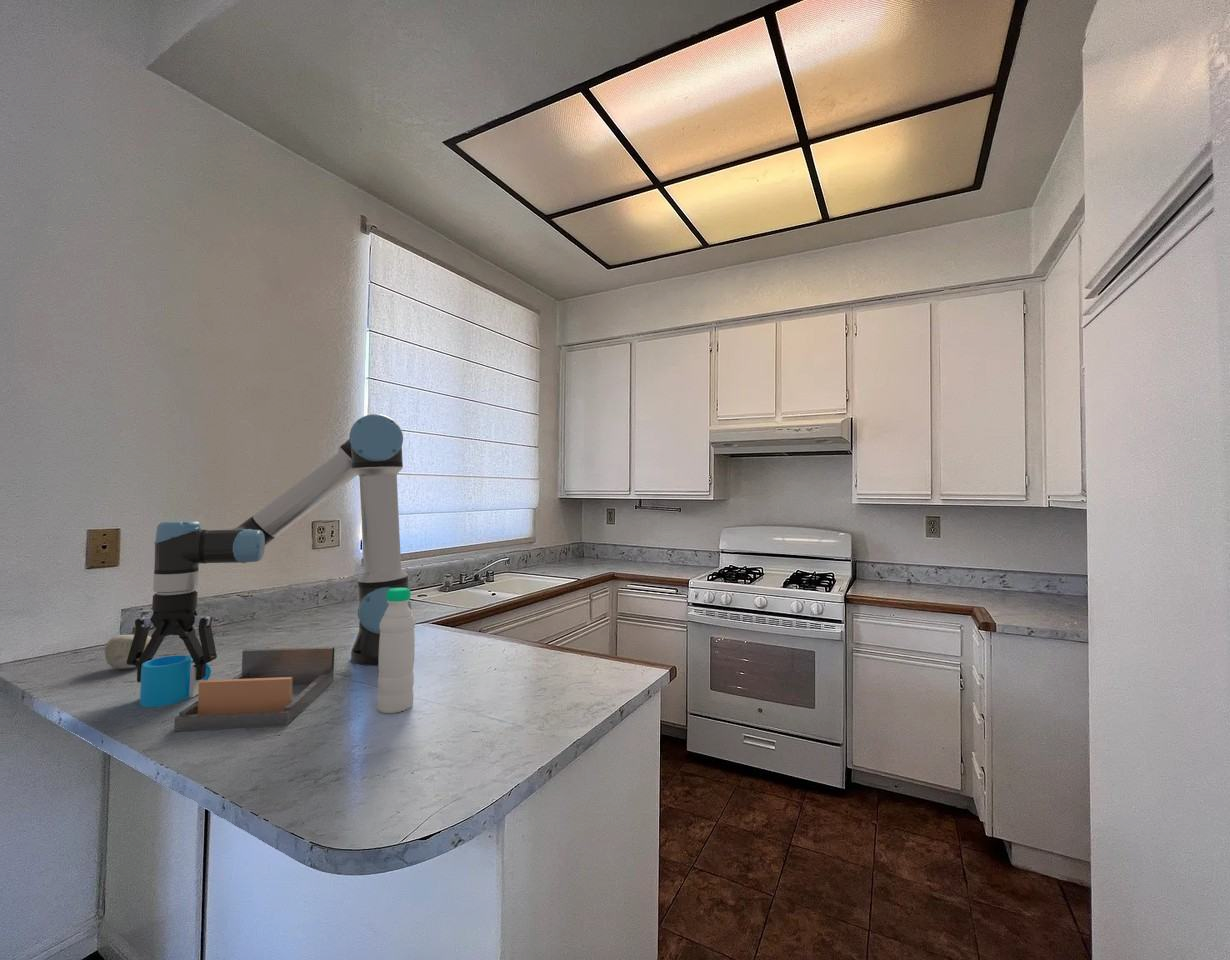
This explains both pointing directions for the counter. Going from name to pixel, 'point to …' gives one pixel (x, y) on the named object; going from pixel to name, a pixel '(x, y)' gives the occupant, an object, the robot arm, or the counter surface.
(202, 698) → the pusher
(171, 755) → the counter surface
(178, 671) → the mug
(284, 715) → the lane
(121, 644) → the decorative object
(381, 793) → the counter surface
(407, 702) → the water bottle
